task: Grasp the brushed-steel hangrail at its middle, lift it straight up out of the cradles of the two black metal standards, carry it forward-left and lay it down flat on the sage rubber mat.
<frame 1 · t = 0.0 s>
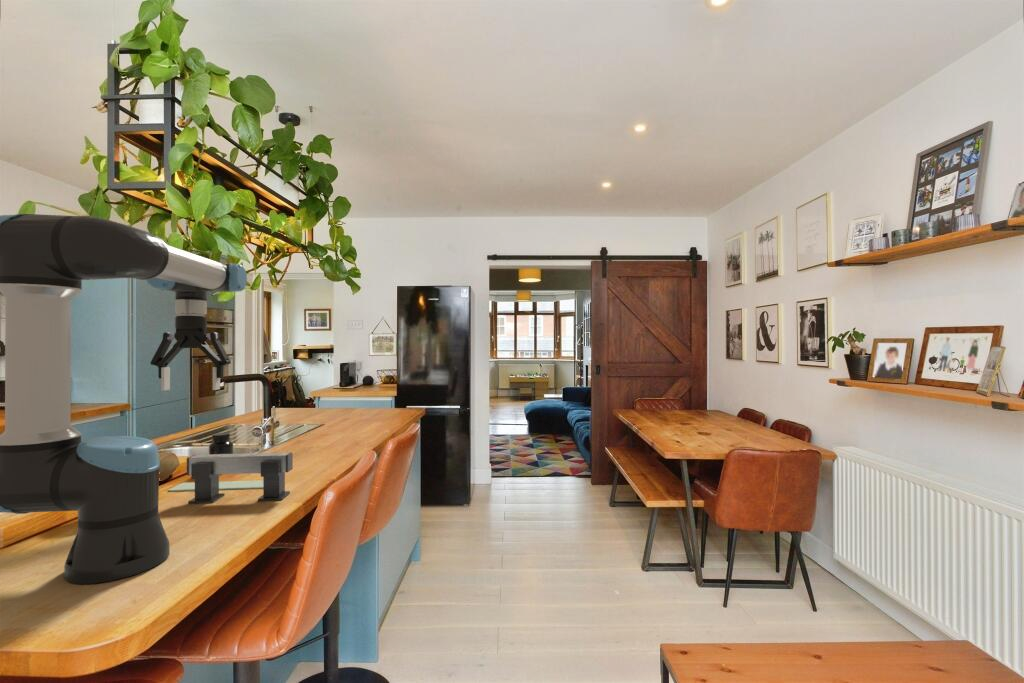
hand: (191, 390, 137), 28 cm above the worktop, fingers open, 13 cm apart
supplement bottle: (221, 471, 155), on the worktop
standards: (240, 498, 128), on the worktop
mat: (226, 486, 139), on the worktop
rail: (240, 472, 128), point 7 cm above the worktop, touching standards
bread roll: (159, 480, 146), on the worktop
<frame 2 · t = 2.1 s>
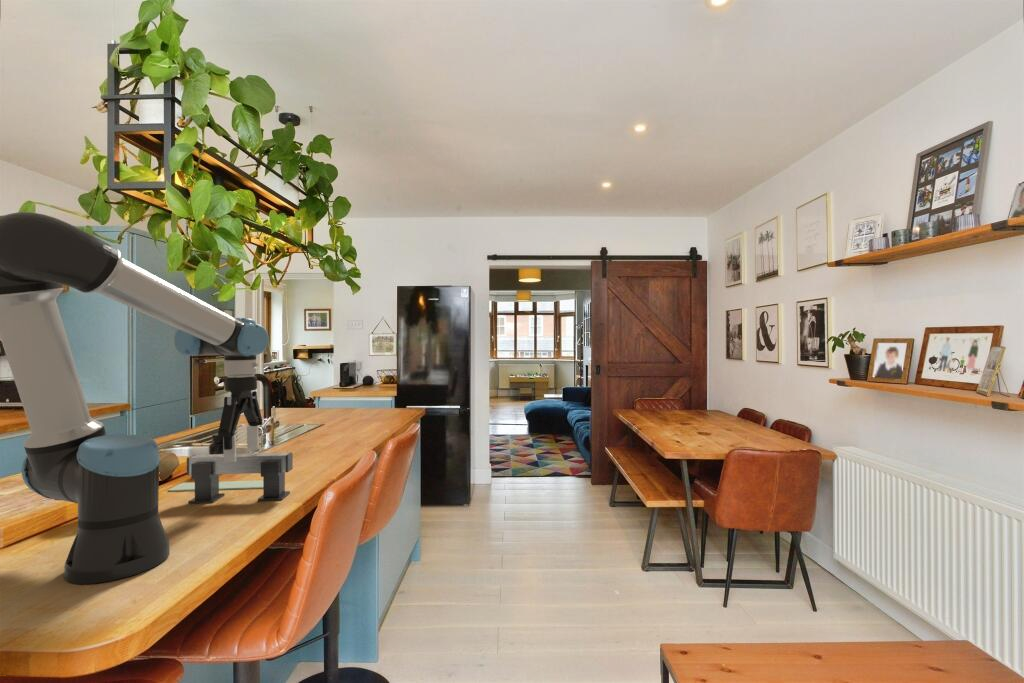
hand: (242, 455, 128), 11 cm above the worktop, fingers open, 13 cm apart
nothing on the worktop moved.
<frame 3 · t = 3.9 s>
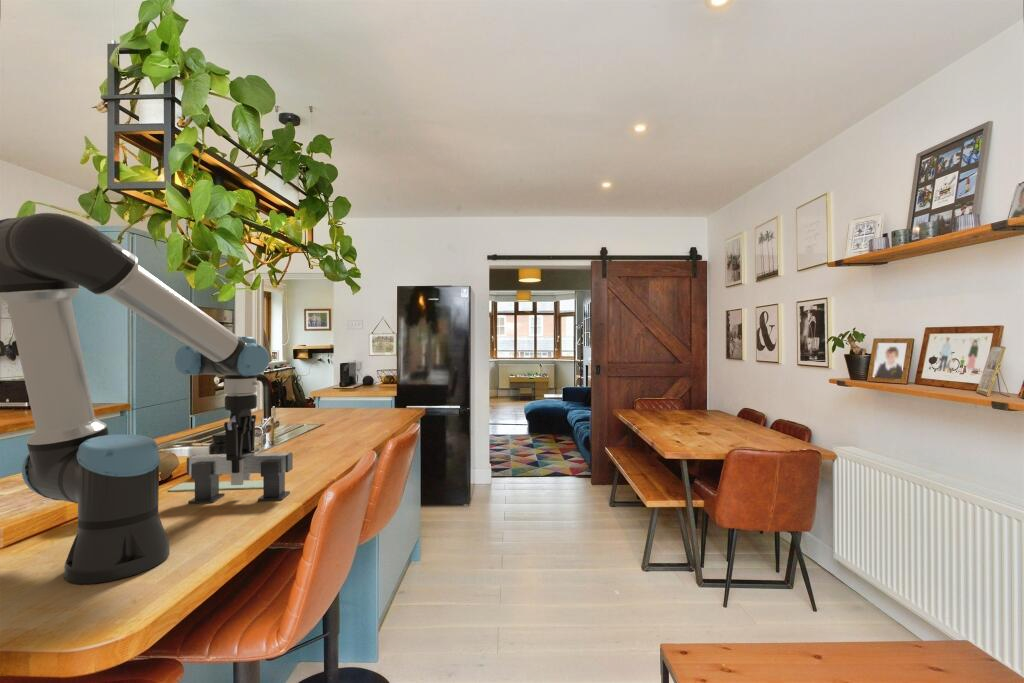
hand: (240, 482, 128), 4 cm above the worktop, fingers closed on rail, 3 cm apart
rail: (240, 472, 128), point 7 cm above the worktop, touching gripper, standards
everything else where it was.
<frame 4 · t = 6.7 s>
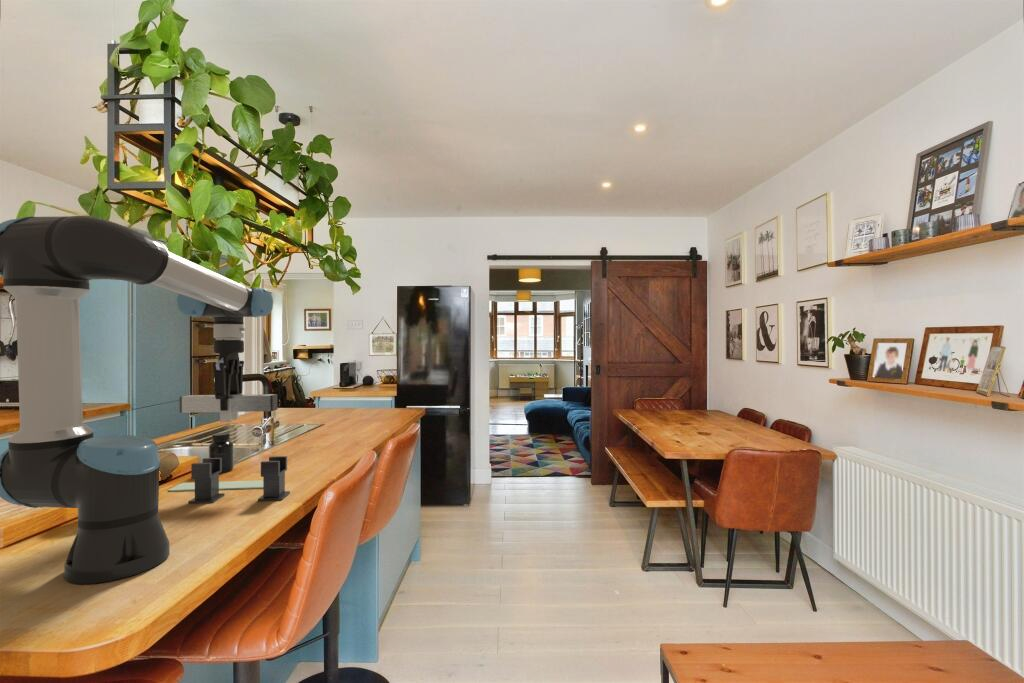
hand: (229, 420, 138), 19 cm above the worktop, fingers closed on rail, 3 cm apart
rail: (229, 411, 138), point 22 cm above the worktop, touching gripper
everything else where it was.
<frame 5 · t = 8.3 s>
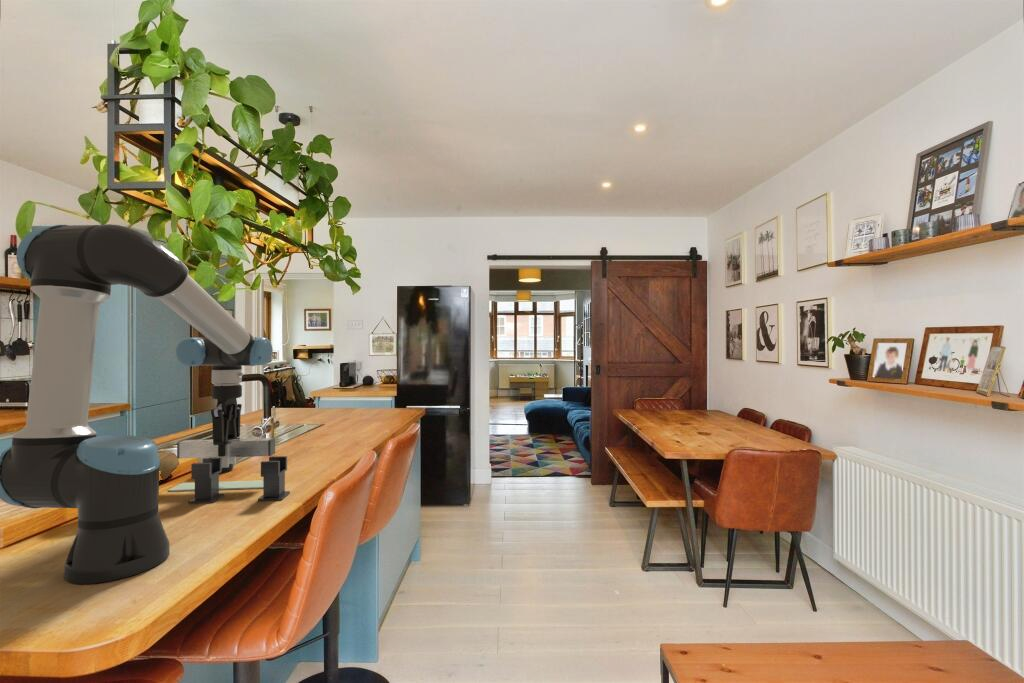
hand: (227, 465, 139), 6 cm above the worktop, fingers closed on rail, 3 cm apart
rail: (227, 455, 139), point 9 cm above the worktop, touching gripper
everything else where it was.
when the fingers open (1 cm above the worktop, at t = 9.5 s): rail drops 3 cm, resting on mat.
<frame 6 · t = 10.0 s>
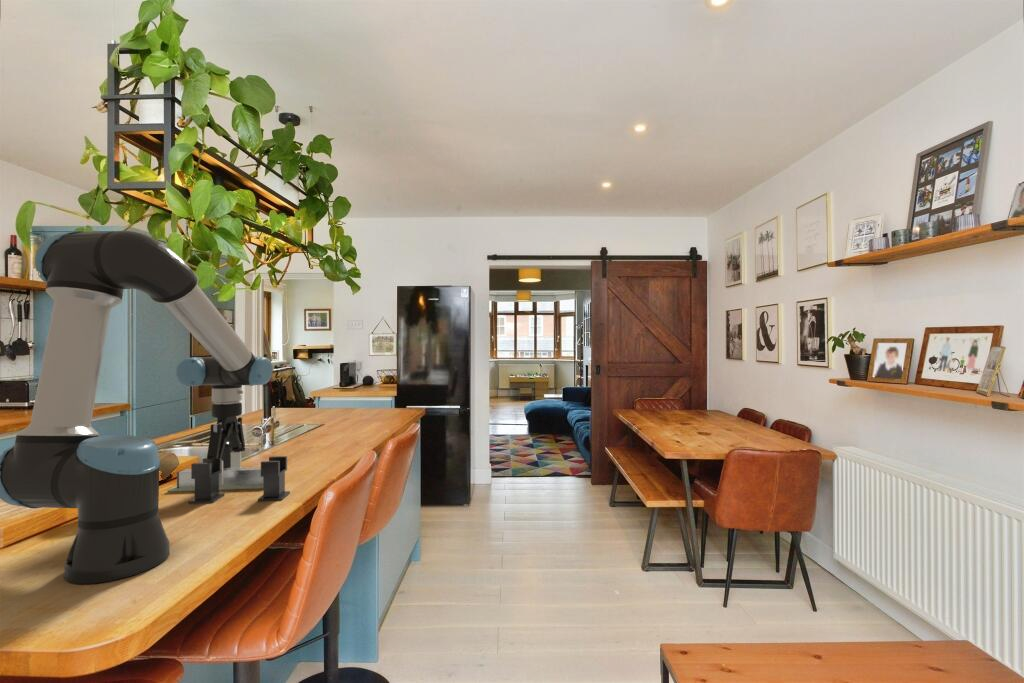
hand: (227, 479, 139), 2 cm above the worktop, fingers open, 10 cm apart
rail: (226, 484, 139), resting on mat
everything else where it was.
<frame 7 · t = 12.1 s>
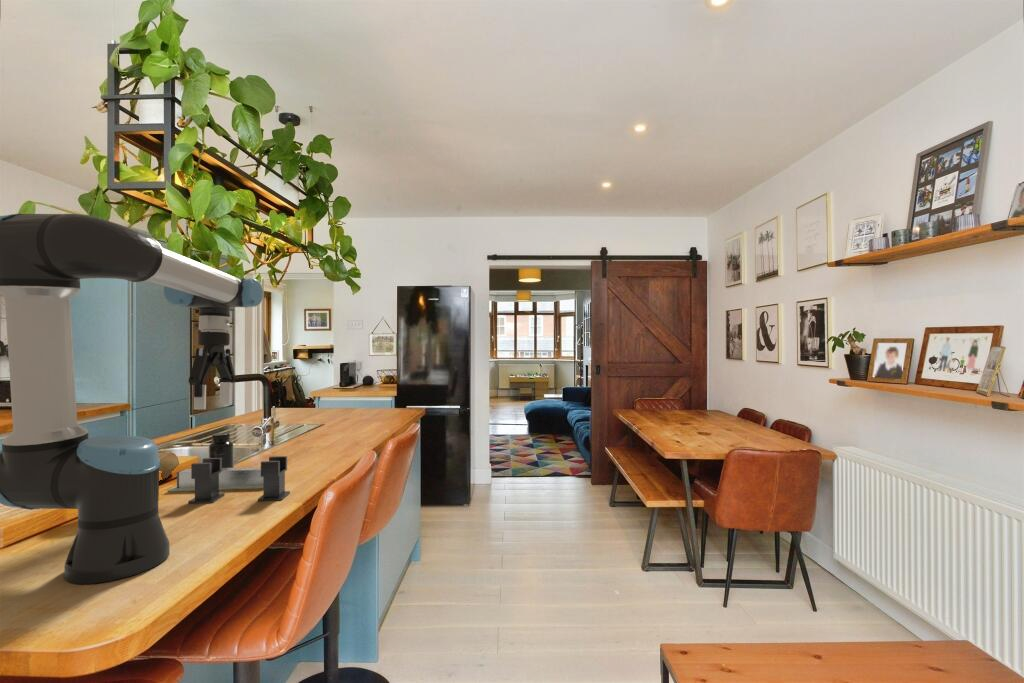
hand: (213, 406, 136), 23 cm above the worktop, fingers open, 13 cm apart
nothing on the worktop moved.
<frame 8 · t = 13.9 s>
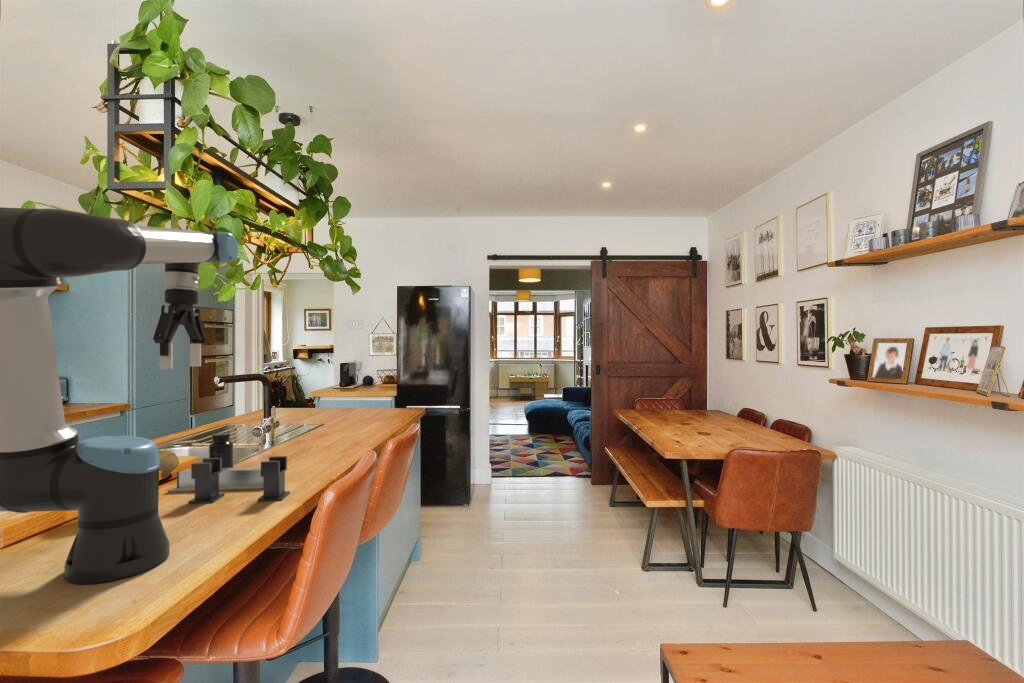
hand: (181, 367, 130), 35 cm above the worktop, fingers open, 13 cm apart
nothing on the worktop moved.
at the end: rail inside the target area on the mat (0.1 cm from its centre), point 0.4 cm above the mat's base; rail touching mat; the gripper is holding nothing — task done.
